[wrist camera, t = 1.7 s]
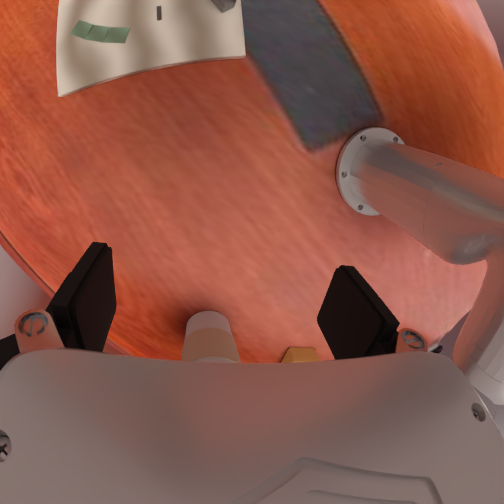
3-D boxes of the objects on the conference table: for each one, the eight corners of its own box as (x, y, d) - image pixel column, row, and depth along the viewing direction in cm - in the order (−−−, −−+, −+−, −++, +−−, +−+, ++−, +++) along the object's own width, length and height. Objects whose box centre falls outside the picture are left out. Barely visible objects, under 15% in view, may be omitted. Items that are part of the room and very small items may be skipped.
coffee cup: (169, 333, 42) (165, 413, 29) (197, 295, 39) (201, 380, 26) (216, 352, 45) (225, 428, 32) (247, 319, 43) (267, 398, 30)
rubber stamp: (288, 346, 48) (307, 400, 37) (315, 347, 49) (337, 397, 39) (270, 379, 52) (284, 428, 41) (295, 379, 53) (312, 425, 43)
